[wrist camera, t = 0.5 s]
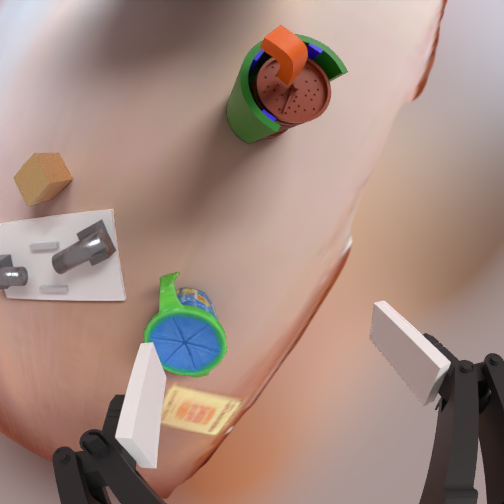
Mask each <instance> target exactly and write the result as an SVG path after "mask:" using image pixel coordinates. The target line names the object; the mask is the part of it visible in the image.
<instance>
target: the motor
mask: <svg viewBox="0 0 504 504" xmlns="http://www.w3.org/2000/svg"><path fill="white" fill-rule="evenodd" d="M347 72H348V71H347V69H346V67H345V65H344V64H343V62H342V61H341V60H340V58H339V57H338V56H337V55H336V54H335V53H334V52H333V51H332V50H331V49H330V48H328V47H327V46H326V45H324V44H323V43H321V42H319V41H317V40H315V39H313V38H310V37H307V36H303V35H298V34H293V33H292V32H290V31H289V30H287V29H286V28H284V27H283V26H281V25H280V26H279V27H277V28H276V29H275V30H274V31H272V32H271V33H270V34H269V35H267V36H266V37H265V38H264V40H263V41H261V42H259V43H258V44H257V45H255V46H254V47H253V48H252V49H251V50H250V52H249V53H248V54H247V56H246V58H245V59H244V62H243V64H242V67H241V69H240V72H239V74H238V77H237V80H236V82H235V85H234V87H233V90H232V93H231V96H230V98H229V101H228V105H227V118H228V122H229V125H230V127H231V128H232V130H233V131H234V133H235V134H236V135H237V136H238V137H239V138H240V139H242V140H243V141H245V142H246V143H248V144H250V143H252V142H255V141H257V140H259V139H262V138H271V137H275V136H277V135H280V134H282V133H284V132H285V131H286V130H288V129H289V128H292V127H294V126H297V125H300V124H302V123H305V122H308V121H311V120H313V119H316V118H317V117H319V116H320V115H321V114H322V113H323V112H324V111H325V110H326V108H327V107H328V105H329V102H330V98H331V86H330V81H332V80H334V79H336V78H337V77H339V76H341V75H343V74H345V73H347ZM249 86H250V87H249Z"/></svg>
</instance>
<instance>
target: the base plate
mask: <svg viewBox="0 0 504 504" xmlns="http://www.w3.org/2000/svg"><path fill="white" fill-rule="evenodd" d="M100 220H103V223H104V225H105V227H106V229H107V231H108V234H109V236H110V238H111V240H112V242H113V244H114V246H115V248H116V251H115V252H114V253H113V254H112V255H111V256H110V257H109V258H108V259H106V260H104V261H102V262H100V263H98V264H96V265H94V266H92V265H91V263H90V261H87V262H85V263H83V264H81V265H79V266H77V267H75V268H73V269H71V270H69V271H67V272H65V273H64V274H58V273H57V272H56V271H55V270H54V268H53V266H52V256H53V255H55V254H56V253H58V252H60V251H61V250H63V249H65V248H67V247H68V246H70V245H72V244H74V243H76V242H77V241H79V239H78V236H77V233H78V232H80V231H82V230H83V229H85V228H87V227H88V226H90V225H92V224H94V223H96V222H98V221H100ZM7 254H11V258H12V263H13V267H25V268H26V270H27V272H28V281H27V284H26V285H25V286H10V287H9V288H8V289H4V290H5V294H6V297H7V298H16V299H38V300H76V301H125V300H126V293H125V287H124V282H123V276H122V271H121V264H120V258H119V251H118V244H117V236H116V228H115V218H114V209H106V210H95V211H86V212H77V213H68V214H60V215H52V216H44V217H37V218H30V219H23V220H17V221H11V222H5V223H0V255H7Z"/></svg>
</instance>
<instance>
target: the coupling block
mask: <svg viewBox="0 0 504 504" xmlns="http://www.w3.org/2000/svg"><path fill="white" fill-rule="evenodd" d="M72 179H73V178H72V176H71V174H70V173H69V171H68V169H67V167H66V165H65V163H64V161H63V160H62V158H61V156H60V154H59V153H34V154H33V155H32V156H31V157H30V159H29V160H28V161H27V162H26V163H25V164H24V165H23V167H22V168H21V169H20V170H19V171H18V173H17V174H16V175H15V176H14V180H15V182H16V184H17V186H18V188H19V190H20V192H21V194H22V196H23V198H24V200H25V202H26V204H27V206H31V205H34V204H37V203H40V202H44V201H47V200H50V199H53V198H54V197H55V196H56V195H57V194H58V193H59V192H60V191H61V190H62V189H63V188H64V187H65V186H66V185H67V184H68V183H69V182H70V181H71V180H72Z"/></svg>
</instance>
